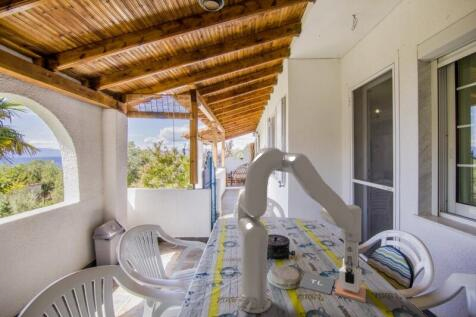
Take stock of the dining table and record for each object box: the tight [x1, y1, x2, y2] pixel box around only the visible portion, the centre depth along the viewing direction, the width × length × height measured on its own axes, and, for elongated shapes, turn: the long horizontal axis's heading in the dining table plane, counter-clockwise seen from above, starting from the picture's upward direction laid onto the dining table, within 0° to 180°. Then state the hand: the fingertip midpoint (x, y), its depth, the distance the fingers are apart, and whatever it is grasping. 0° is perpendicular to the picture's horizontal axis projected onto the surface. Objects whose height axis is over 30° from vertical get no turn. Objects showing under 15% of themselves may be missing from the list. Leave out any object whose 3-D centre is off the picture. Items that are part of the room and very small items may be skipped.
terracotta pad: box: [334, 279, 367, 303], centre depth 100 cm, size 11×11×1 cm
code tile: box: [298, 272, 335, 296], centre depth 106 cm, size 13×13×1 cm
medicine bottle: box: [338, 256, 363, 293], centre depth 100 cm, size 7×7×12 cm
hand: (350, 277), depth 100 cm, fingers open, 8 cm apart
